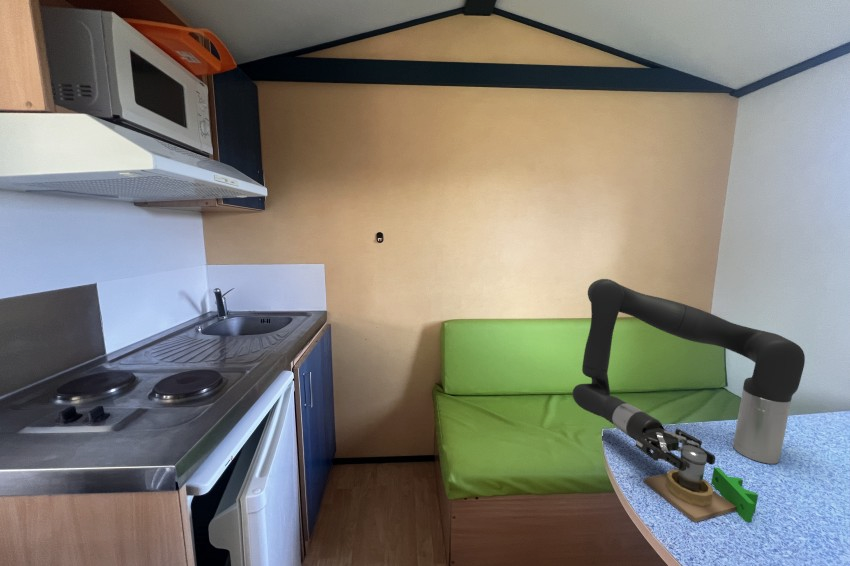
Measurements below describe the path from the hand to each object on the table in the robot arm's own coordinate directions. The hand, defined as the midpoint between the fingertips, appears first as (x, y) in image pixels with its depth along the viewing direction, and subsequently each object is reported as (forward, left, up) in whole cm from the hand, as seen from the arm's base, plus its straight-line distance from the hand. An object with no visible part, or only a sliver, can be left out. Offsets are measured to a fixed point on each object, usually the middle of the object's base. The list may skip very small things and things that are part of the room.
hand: (699, 464), depth 76 cm
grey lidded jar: (0, -2, -8) cm, 8 cm away
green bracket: (-9, +3, -9) cm, 13 cm away
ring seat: (0, -2, -9) cm, 9 cm away
